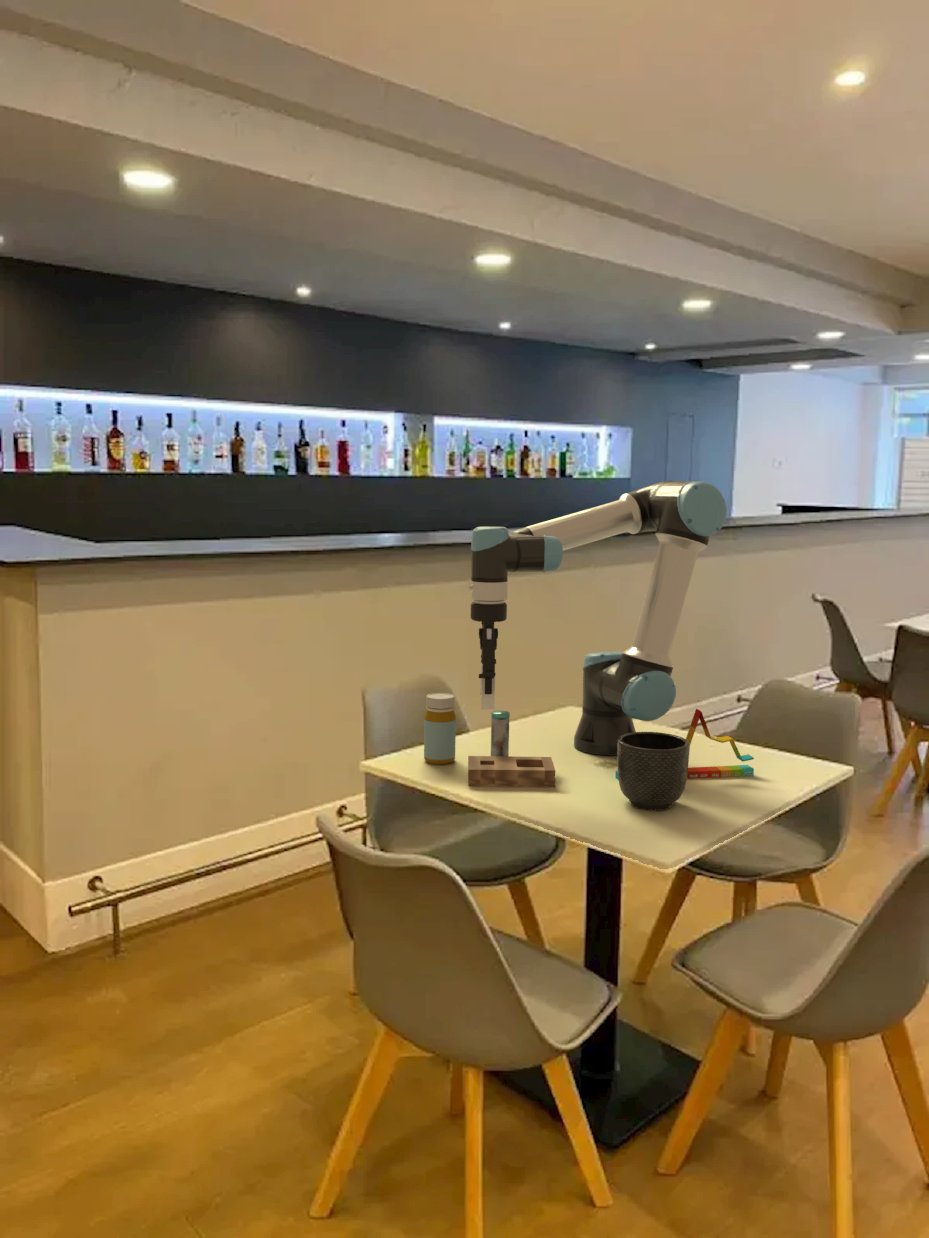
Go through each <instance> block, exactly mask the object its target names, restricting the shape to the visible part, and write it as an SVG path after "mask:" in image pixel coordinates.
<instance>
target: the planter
mask: <svg viewBox="0 0 929 1238" xmlns="http://www.w3.org/2000/svg"><path fill="white" fill-rule="evenodd" d="M690 751H691V744H690V743H689V742H688V741H687V740H686V738H684V737H682V736H679V735H676V734H671V733H666V732H657V731H636V732H633V733H627V734H624V735H621V736H620V737H619V738H618V741H617V755H616V758H617V760H616V762H617V764H616V765H617V771H618V779H619V781H618V784H619V788H620V791H621V793H622V794H623V796H624V797H625V798H627V800H629V803H630V805H632V806H633V807H635V808H638V809H639V810H645V811H663V810H665V811H666V810H667V809H669V808H671V807H672V806H673V804H674V803H675V802H677V801H678V800H680V798H681V797H682V795H683V794H684V791H685V789H686V784H687V780H688V779H687V772H688V768H689V761H690Z"/></svg>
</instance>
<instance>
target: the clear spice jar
mask: <svg viewBox="0 0 929 1238" xmlns="http://www.w3.org/2000/svg"><path fill="white" fill-rule="evenodd" d="M490 721H491V722H490V756H509V754H510V752H509V749H510V747H509V746H510V744H509V743H510V711H507V710H491V712H490Z"/></svg>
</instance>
